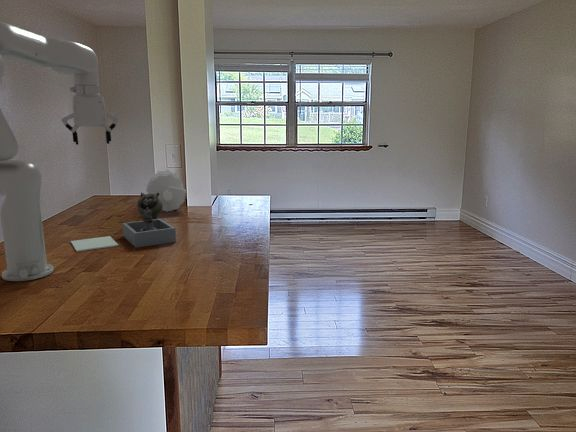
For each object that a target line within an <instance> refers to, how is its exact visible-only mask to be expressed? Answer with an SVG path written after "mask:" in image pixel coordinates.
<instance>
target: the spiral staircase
mask: <svg viewBox="0 0 576 432" xmlns="http://www.w3.org/2000/svg"><path fill="white" fill-rule="evenodd" d="M148 180H149V181H148V182H147V184H146V188H145V189H146V192H147V194H155V195H156V193H159V196H158V197H159V198H160V199H161V201H162V204H163V207H162V211H164V212H167V213H168V211H170V212H171V211H174V210H177V209H180V206H181V205H182V204H184V203H185V201H186V199H185V196H186V193H187V190H186V189H185V188H184V184H183V182H182V180H181V177H180V176H179V175H178V174H177V172H172V171H171V170H170V169H166V170H157V172H156V173H154V174H152V175H150V176H149V179H148Z"/></svg>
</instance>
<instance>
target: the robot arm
mask: <svg viewBox="0 0 576 432" xmlns="http://www.w3.org/2000/svg"><path fill="white" fill-rule="evenodd" d="M4 59H7V60H10V61H14V62H18V63H21V64H26V65H28V66H29V65H30V66H32V67H38V68H39V67H40V68H51V69H52V70H53V71H55V72H56V73H58V74H62V75H63V74H64V75H67V74H71V75H73V84H74V86H72V87H69V91H70V92H71V93H74V94H75V95H72V113H71V114H68V115H66V116H64V117H63V118H61V121H62V123H63V125H64V126H65V127H66V128H67V130H69V131H70V132H71V133H72V141H73V143H75V145H77V146H78V145H79V138H78V132H77V130H78V129H79V127H83V128H84V127H87V128H89V127H103V128H104V129H105V130H106V131H105V141H106V144H108V145H110V142H111V141H112V135H111V132H112V131H113V129H115V128H116V126H117V124H118V121H119V119H118V118H117V117H115V116H113V115H112V114H110V113H107V109H106V103H105V99H104V96H103V95H101V87H100V78H99V67H98V66H99V59H98V55H97V54H96V53H95V51H94V50H93V49H92V48H90V47H88V46H86V45H83V44H81V43H78V42H75V41H71V40H65V39H61V38H60V39H59V38H56V37H52V36H47V35H42V34H41V35H40V34H37V33H34V32H32V31H29V30H26V29H23V28H22V27H18V26H15V25H13V24H10V23H6V22H3V21H0V83H1V82H2V79H3V76H4V74H5V62H4ZM71 119H72V120H73V124H74V125H73V126H71V125H70V124H69V123H68V122H69V120H71ZM108 119H110V120H111V121H112V122H111V124H110V125H109V126H108ZM18 153H19V145H18V141H17V139H16V136H15V134H14V132H13V131H12V129H11V127H10V125H9V123H8V121H7V118H6V117H5V115H4V113H3V111H2V109H1V108H0V196H4V197H5V198H4V201H3V202H2V205H1V206H0V222H1V223H0V224H1V232H2V237H3V238H2V239H3V245H4V253H5V261H6V267H7V268H6V269H5V270H3V271H2V272H1V278H2V280H4V281H8V282H25V281H34V280H38V279H41V278H44V277H47V276H48V275H51V274H52V273H53V272H54V265H52V264H51V263H48V261H47V255H46V246H45V235H44V227H43V226H44V225H43V219H42V211H41V189H42V173H41V171H40V169H39V168H38V167H37V166H36V165H35V164H33V163H31V162H29V161H25V160H20V159H18V160H17V159H14V158H15V157H16V156H17V155H18Z"/></svg>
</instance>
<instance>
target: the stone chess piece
mask: <svg viewBox="0 0 576 432" xmlns="http://www.w3.org/2000/svg"><path fill="white" fill-rule="evenodd" d="M143 214H144V216H143V218H142V221H143V220H144V227H143V228H142V229H140V231H141V232H143V231H151V230H157V228H154V227H153V221H152V220H153V218H152V211H151V210H150V209H148V207H147V209H145V210H144V211H143Z"/></svg>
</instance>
